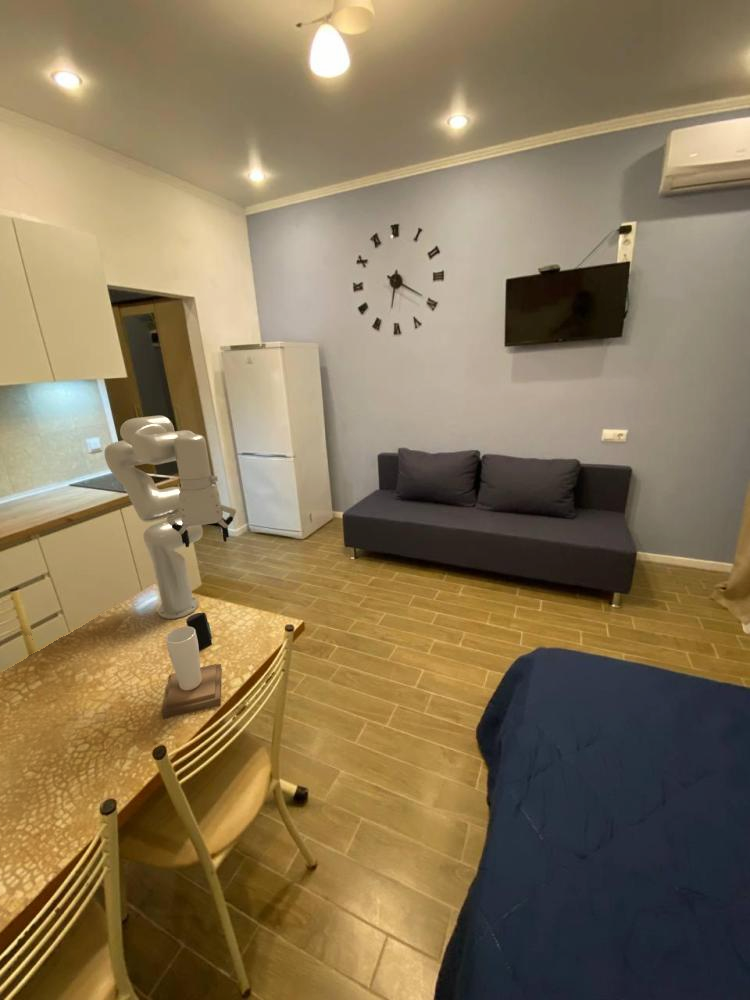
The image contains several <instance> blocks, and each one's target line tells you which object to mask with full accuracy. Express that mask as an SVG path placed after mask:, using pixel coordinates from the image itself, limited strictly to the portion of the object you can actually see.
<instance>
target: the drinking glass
mask: <svg viewBox="0 0 750 1000" xmlns="http://www.w3.org/2000/svg"><path fill="white" fill-rule="evenodd" d="M165 642H166V649H167V652H168V657H169V659H170V661H171V664H172V668H173V670H174V673H176V676H177V679H178V683H179V686H180V688H181V689H182V690H192V689H194V688H196V687H198V686H199V685H200V683H201V681H202V676H201V669H200V668H201V662H200V661H201V659H200V651H199V646H198V639H197V635H196V631H195V629H194V628H193V627H190V626H187V625H186V626H185V625H183V626H179V627H176V628H175V629H172V630H171V631H170V632H168V633H167V635H166V636H165Z"/></svg>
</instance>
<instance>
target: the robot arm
mask: <svg viewBox="0 0 750 1000" xmlns="http://www.w3.org/2000/svg"><path fill="white" fill-rule="evenodd" d="M173 424H174V423H172V421H171V420H170V419H169V418H168V417H166V416H165V415H151V416H144V417H143V416H142V417H141V416H140V417H133V418H130V419H127V420H125V421H124V422H123V423H122V424H121V426H120V429H119V434H120V437H121V439H122V440H119V441H115V442H112V443H110V444H109V445H107V446H106V447H105V449H104V452H103V453H104V459H105V461H106V465H107V467H108V468H109V470H110V472H111V473H112V475H113V476H114V477H115V478H116V479H117V481H118V482H119V483H120V484H121V485H122V487H123V488H124V490H125V491H126V493H127V495H128V498H129V500H130V502H131V504H132V506H133V508H134V510H135V512H136V515H137V516H138V518H139V519H140V520H141V521H142V522H144V523H151V522H152V523H153V522H156V521H159V520H160V521H161V520H164V519H166V520H164V521H161V522H157V523H155V524H152V525H150V526H149V527H147V528H146V529H145V530H144V532H143V541H144V544H145V546H146V548H147V550H148V553H149V555H150V559H151V562H152V566H153V567H152V568H153V570H154V574H155V578H156V579H155V580H156V585H157V589H158V593H159V598H160V602H161V605H160V606H159V607H158V609H157V612H158V616H159V617H160V618H163V619H166V620H172V619H173V620H174V619H179V618H182V617H186V616H188V615H190V614H191V613H193V612H195V610H196V609H197V608H198V607H199V600H198V598H197V597H196V596H193V593H192V589H191V588H192V587H191V583H190V579H189V578H190V577H189V572H188V566H187V562H186V559H185V558H184V556H183V555H182V554H181V553H179V552H177V551H176V550H177V549H178V548H181V547H183V546H185V548H189V547H190V544H192V543H195V542H197V541H199V540H201V538H202V537H203V534H204V530H203V527H202V526H203V525H209V524H210V525H211V524H212V525H213V524H217V523H218V524H219V525H220V526H221V531H222V538H223V542H225V543H226V542H228V541H227V538H229V536H230V535H229V525H230V524H232V522H233V521H234V518H235V516H236V513H237V510H236V508H233V507H229V506H226V505H223V504H222V502H221V498H220V494H219V490H218V487H217V485H216V482H218V481H219V479H218V476H217V475H216V476H214V475H212V472H211V467H210V459H209V453H208V448H207V447H208V446H207V440H206V438H205V437H204V435H202V434H199V433H197V434H196V433H194V432H193V431H191V430H188V429H186V430H177V431H175V428H174V425H173ZM171 462H176V464H177V465H176V466H177V470H178V476H179V480H180V481H179V482H180V486H181V487H178V486H171V487H166V488H162V489H159V488H158V487H157V486H156V483H155V482H154V479H153V477H152V476H150V475H149V474H148V473H147V472H145V471H143V470H141V469H139V468H137V467H135V466H141V465H145V464H148V465H153V466H154V465H163V464H165V463H171ZM214 483H215V484H214ZM223 512H225V513H228V514H229V515H228V516H227V517H226V519H225V518H224V516H223Z"/></svg>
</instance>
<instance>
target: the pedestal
mask: <svg viewBox="0 0 750 1000" xmlns="http://www.w3.org/2000/svg"><path fill="white" fill-rule="evenodd" d="M200 669H201V676H202V681H201V683H200V685H199V686H198V687H196V688H194V689H192V690H182V689H181V688H180V686H179V683H178V679H177V676H176V673H175V672H174V673H171V674H169V675H168V678H167V683H166V687H165V693H164V699H163V703H162V709H161V716H162V719H163V720H165V719H169V718H174V717H177V716H181V715H186V714H189V713H193V712H198V711H202V710H205V709H211V708H213V707H214V708H215V707H218V706H221V705H222V681H223V680H222V679H223V678H222V676H223V675H222V674H223V669H222V664H221V663H219V664H218V663H215V664H211V665H210V664H209V665H206V666H205V665H204V666H200Z"/></svg>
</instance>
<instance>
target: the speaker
mask: <svg viewBox="0 0 750 1000" xmlns="http://www.w3.org/2000/svg"><path fill="white" fill-rule="evenodd" d="M185 621H186V626H190V627H193V628H194V629H195V631H196V635H197V639H198V646H199V652H202V651H203V650H204V649H206V648H208V647H210V646H211V645H213V642H212V640H213V637H212V633H211V632H212V630H211V627H210V623H209V621H208V618H207V613H206V612H196V613H194V614H192V615H189V616H188V617H187V619H185Z"/></svg>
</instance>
